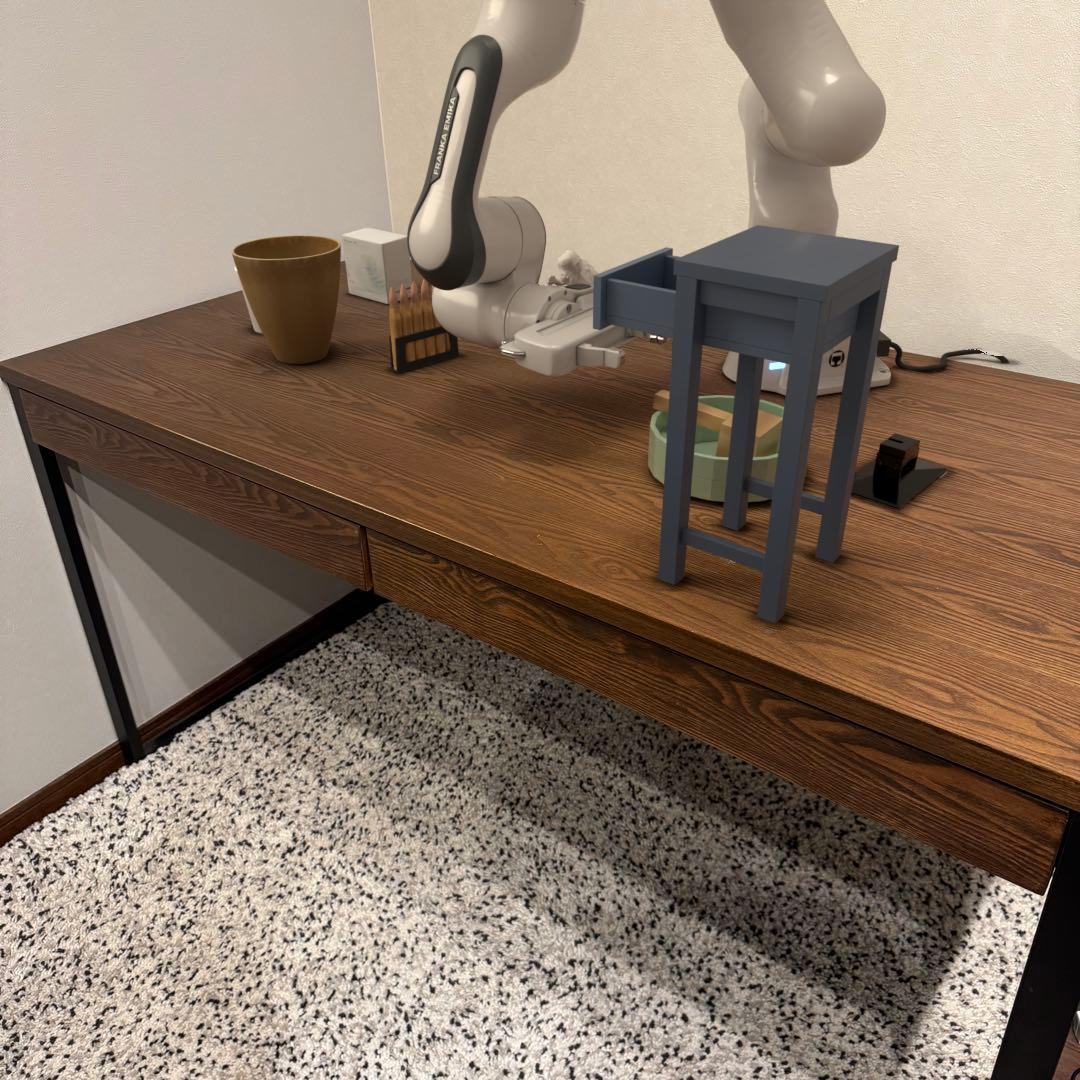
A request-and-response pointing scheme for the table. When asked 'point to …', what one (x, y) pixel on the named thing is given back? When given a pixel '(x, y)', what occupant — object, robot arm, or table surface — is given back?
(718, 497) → the bowl
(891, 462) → the black slotted stand
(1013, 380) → the table surface
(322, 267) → the plant pot
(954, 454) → the table surface
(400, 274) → the cosmetics box
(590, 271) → the dinosaur figurine
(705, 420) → the mallet
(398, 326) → the ammunition clip
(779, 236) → the nightstand
